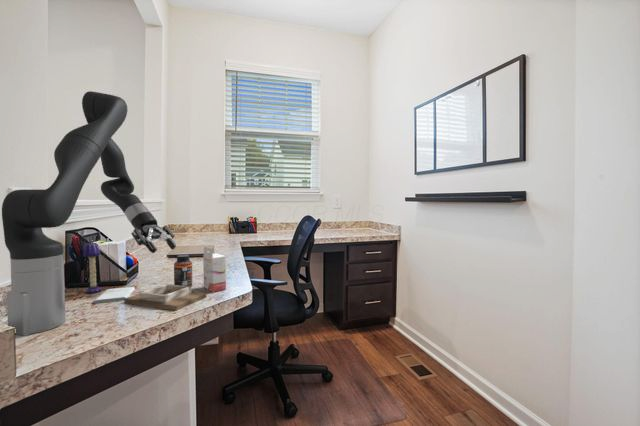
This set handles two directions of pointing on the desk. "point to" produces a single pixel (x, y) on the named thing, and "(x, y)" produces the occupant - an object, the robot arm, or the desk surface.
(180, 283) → the supplement bottle
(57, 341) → the desk surface
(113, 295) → the external hard drive
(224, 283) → the ink cartridge box
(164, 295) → the rail board
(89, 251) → the toy lamp
